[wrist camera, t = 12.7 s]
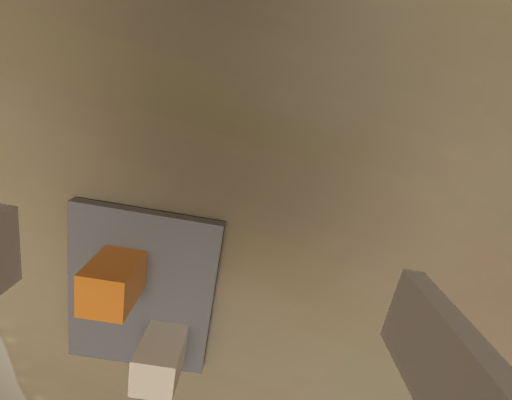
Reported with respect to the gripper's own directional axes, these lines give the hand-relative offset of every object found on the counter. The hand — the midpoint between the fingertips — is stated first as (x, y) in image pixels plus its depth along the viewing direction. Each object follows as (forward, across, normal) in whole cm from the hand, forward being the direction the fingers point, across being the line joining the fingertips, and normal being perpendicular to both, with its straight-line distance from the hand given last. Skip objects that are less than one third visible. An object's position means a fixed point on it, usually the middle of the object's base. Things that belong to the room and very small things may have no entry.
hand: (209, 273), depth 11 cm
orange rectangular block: (+25, -12, -16) cm, 32 cm away
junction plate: (+27, -10, -20) cm, 35 cm away
